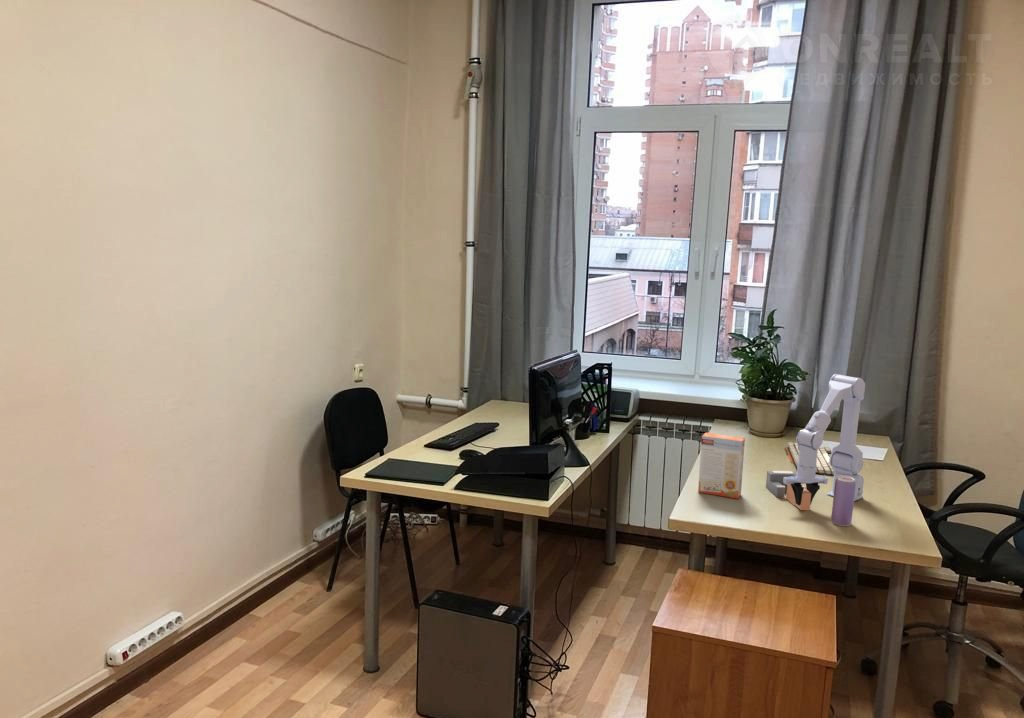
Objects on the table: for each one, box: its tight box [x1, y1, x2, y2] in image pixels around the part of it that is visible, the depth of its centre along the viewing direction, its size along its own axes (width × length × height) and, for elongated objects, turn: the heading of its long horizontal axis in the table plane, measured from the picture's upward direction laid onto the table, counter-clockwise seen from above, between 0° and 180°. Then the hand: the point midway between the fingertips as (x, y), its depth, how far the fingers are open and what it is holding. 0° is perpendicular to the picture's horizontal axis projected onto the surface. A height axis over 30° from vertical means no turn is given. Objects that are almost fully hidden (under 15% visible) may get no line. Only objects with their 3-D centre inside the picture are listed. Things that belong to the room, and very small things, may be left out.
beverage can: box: [830, 475, 856, 527], centre depth 238 cm, size 6×6×15 cm
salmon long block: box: [785, 484, 811, 511], centre depth 254 cm, size 11×3×6 cm, turn 6°
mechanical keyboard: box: [783, 442, 834, 476], centre depth 306 cm, size 38×19×3 cm, turn 167°
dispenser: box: [765, 470, 806, 499], centre depth 266 cm, size 11×10×6 cm
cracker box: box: [697, 432, 746, 499], centre depth 262 cm, size 14×6×21 cm, turn 63°
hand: (803, 504), depth 251 cm, fingers closed on salmon long block, 3 cm apart
